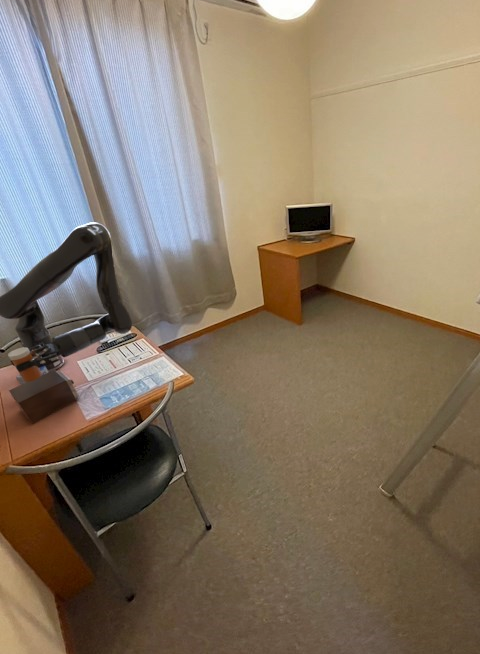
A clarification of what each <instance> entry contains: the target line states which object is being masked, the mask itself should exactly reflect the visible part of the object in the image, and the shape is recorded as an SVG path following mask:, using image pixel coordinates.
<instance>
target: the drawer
mask: <svg viewBox="0 0 480 654" xmlns="http://www.w3.org/2000/svg"><path fill="white" fill-rule="evenodd" d="M56 372H57V373H59V374H60V375H61V376H62V377H63V378H64V379H65V380H66V381H67V383H68V385H69V387H70V389H71V391H72V392H73V394H74V396H75V398H76V399H77V398H78V397H79V394H78V391H77V390H76V388H75V386H74V384H75V382H74V380H73V379H70V378H69V377H68V376H67V375H66V374H64V373H63V372H62V371H61V370H58V371H56Z"/></svg>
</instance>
